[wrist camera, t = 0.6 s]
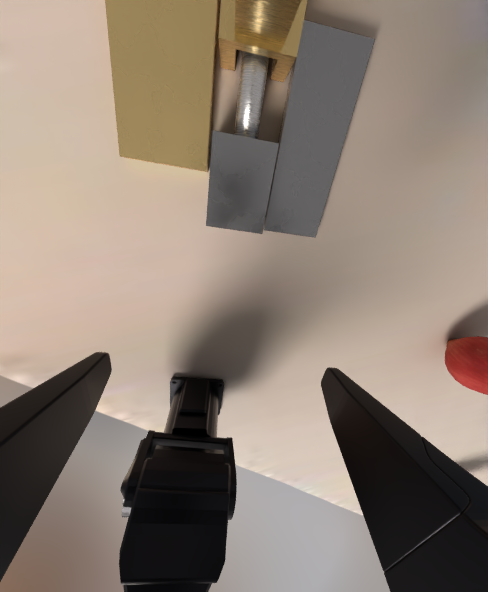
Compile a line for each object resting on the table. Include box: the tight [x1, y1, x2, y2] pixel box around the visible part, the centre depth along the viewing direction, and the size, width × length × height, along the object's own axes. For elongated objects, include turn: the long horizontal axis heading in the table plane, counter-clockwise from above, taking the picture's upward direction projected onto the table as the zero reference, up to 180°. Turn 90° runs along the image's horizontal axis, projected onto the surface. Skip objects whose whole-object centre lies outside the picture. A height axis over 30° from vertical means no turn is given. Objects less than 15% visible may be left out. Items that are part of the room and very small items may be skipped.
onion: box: [445, 336, 488, 395], centre depth 23 cm, size 6×6×8 cm
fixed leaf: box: [206, 20, 375, 237], centre depth 14 cm, size 15×9×3 cm, turn 171°
